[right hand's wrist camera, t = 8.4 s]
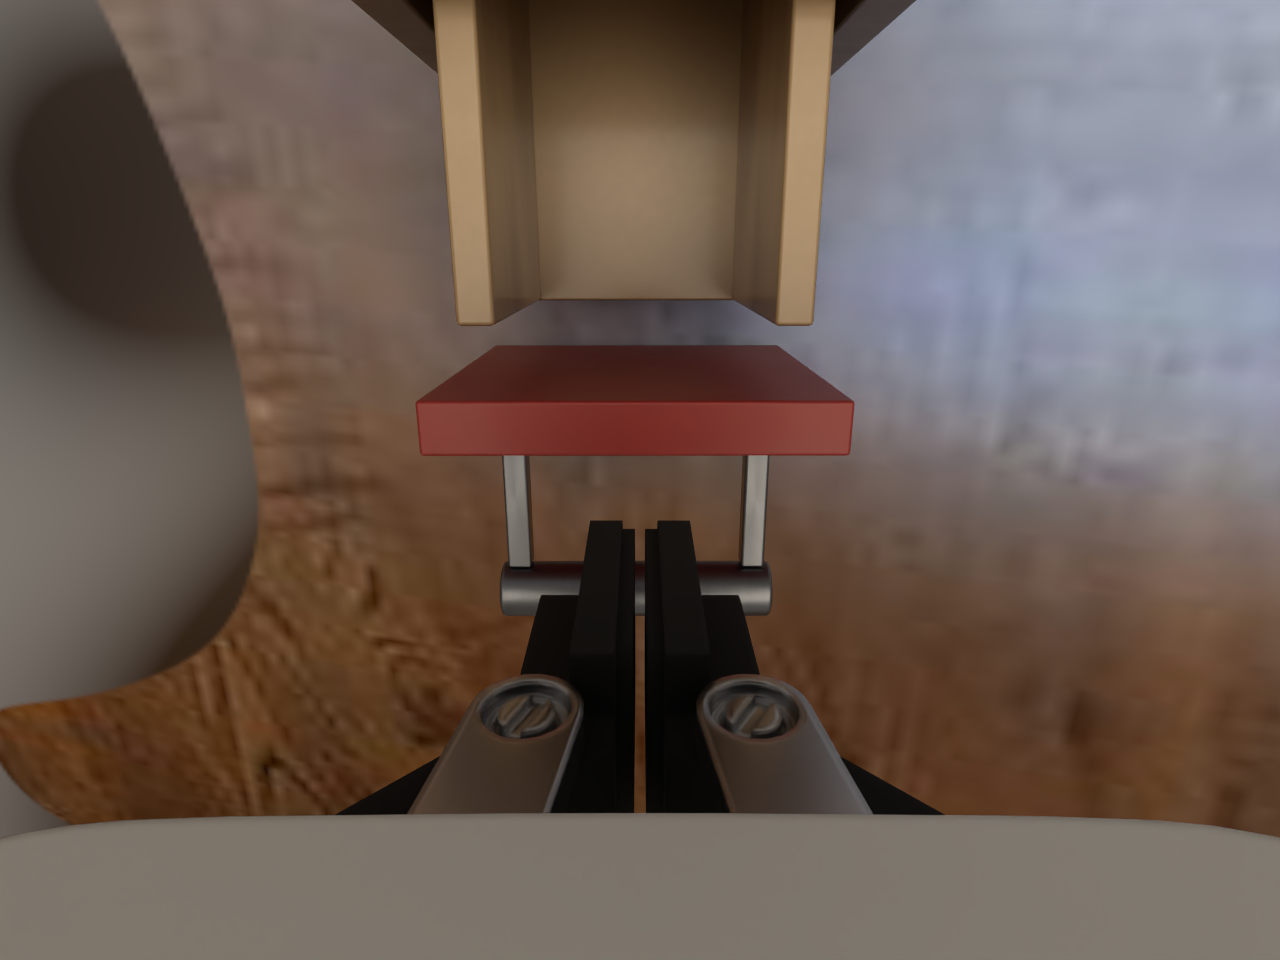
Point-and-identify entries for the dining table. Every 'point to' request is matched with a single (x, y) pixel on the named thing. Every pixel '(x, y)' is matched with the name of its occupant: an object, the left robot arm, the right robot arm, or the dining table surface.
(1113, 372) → the dining table surface
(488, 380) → the drawer
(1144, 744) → the dining table surface
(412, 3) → the cabinet
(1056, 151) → the dining table surface
